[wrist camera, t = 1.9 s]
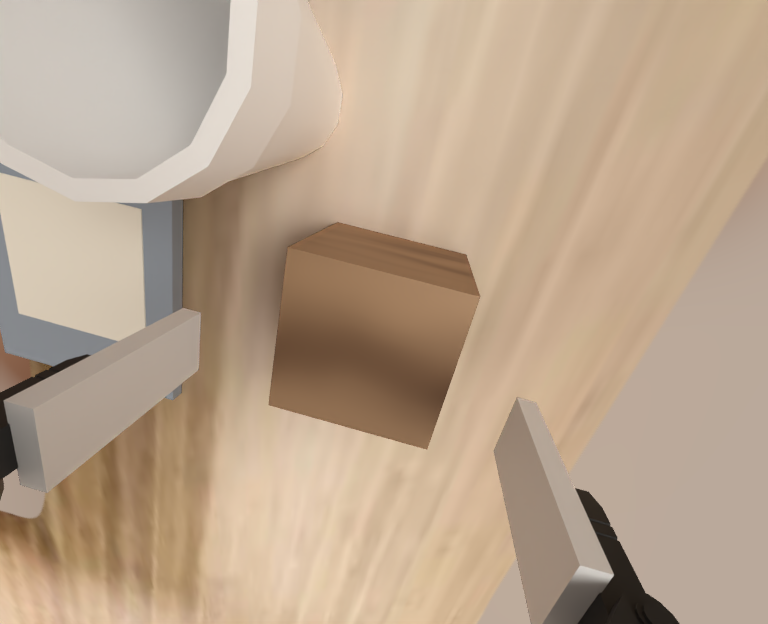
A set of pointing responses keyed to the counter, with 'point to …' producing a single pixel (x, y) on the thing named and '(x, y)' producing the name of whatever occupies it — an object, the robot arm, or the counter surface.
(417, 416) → the walnut cube
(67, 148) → the foam cup
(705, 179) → the counter surface
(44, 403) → the robot arm
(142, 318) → the blue flat board
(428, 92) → the counter surface
